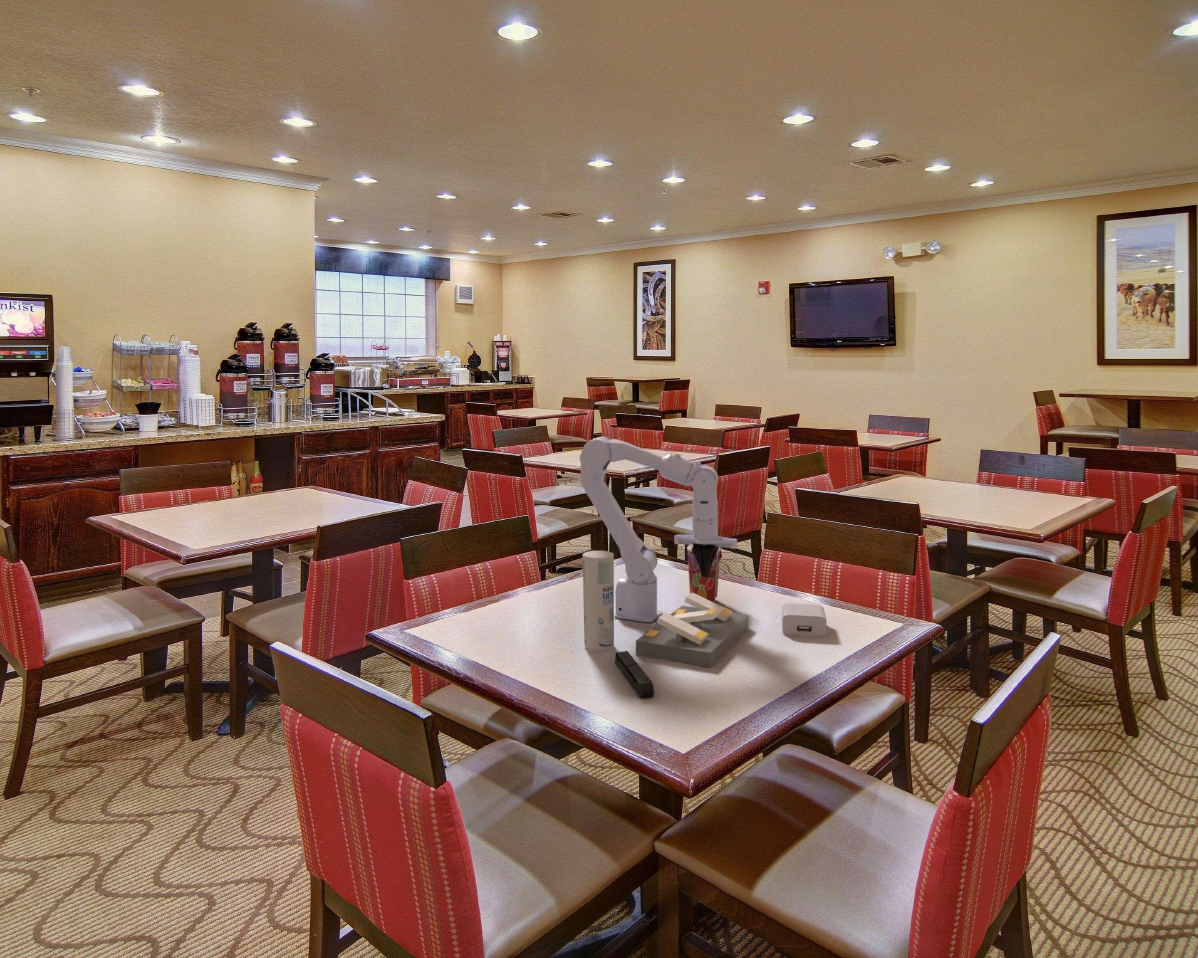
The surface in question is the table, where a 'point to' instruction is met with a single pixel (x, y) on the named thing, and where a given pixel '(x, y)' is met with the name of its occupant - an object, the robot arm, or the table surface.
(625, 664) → the black long bar
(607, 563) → the spray can
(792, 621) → the charger
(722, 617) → the block
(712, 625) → the switch panel
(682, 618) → the block
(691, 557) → the smoothie
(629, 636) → the table surface
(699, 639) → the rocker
